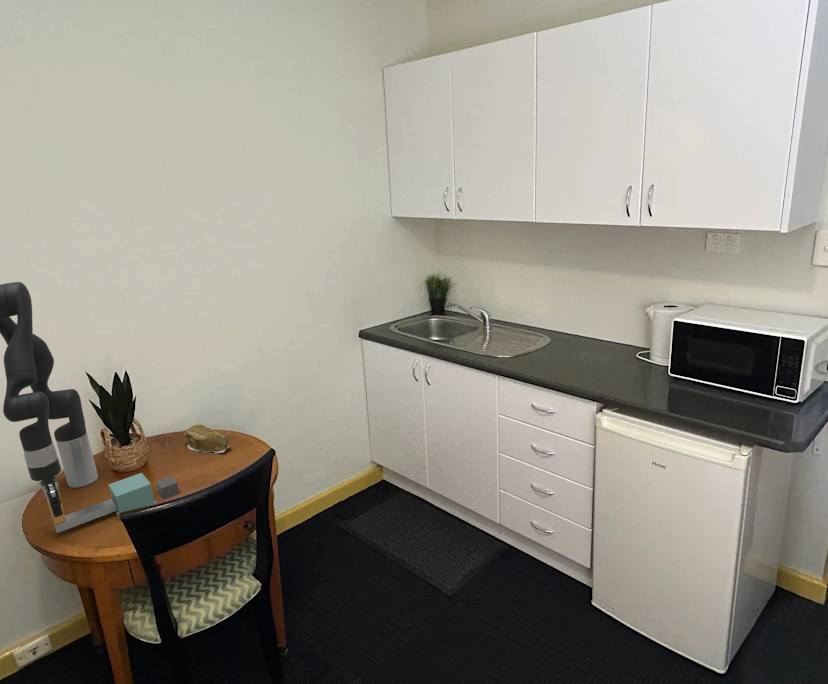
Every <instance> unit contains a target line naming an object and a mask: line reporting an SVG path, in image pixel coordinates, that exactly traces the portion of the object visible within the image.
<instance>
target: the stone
mask: <svg viewBox="0 0 828 684" xmlns="http://www.w3.org/2000/svg"><path fill="white" fill-rule="evenodd" d="M182 438H183V440H184V441H185V442H186V444H187V445H186V446H187V449H188V450H189V449H191V450H193V451H192V452H194V451H195V452H199V451H202V452H201V453H207V452H215V454H219V453H224V452H225V451H227V450H228V449H229V448H230V445H228V444H229V442H230V437H229V435H224V434H223V433H221V432H219V431H217V429H212V428H211V427H207V426H206V425H204V424H194V425H192V426H190V428H187V429H185V430H184V432H183V433H182ZM227 445H228V446H227ZM191 450H190V451H191ZM204 451H206V452H204Z"/></svg>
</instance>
